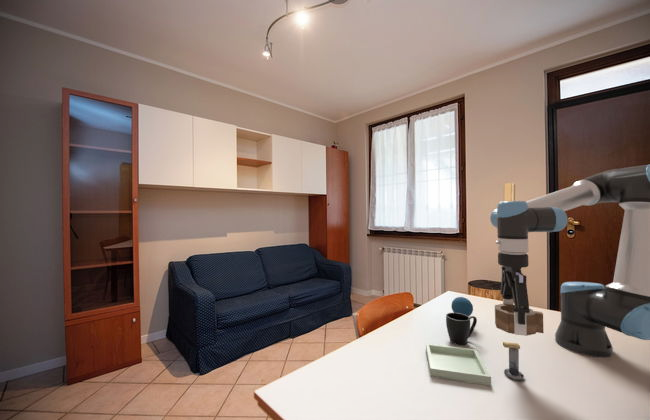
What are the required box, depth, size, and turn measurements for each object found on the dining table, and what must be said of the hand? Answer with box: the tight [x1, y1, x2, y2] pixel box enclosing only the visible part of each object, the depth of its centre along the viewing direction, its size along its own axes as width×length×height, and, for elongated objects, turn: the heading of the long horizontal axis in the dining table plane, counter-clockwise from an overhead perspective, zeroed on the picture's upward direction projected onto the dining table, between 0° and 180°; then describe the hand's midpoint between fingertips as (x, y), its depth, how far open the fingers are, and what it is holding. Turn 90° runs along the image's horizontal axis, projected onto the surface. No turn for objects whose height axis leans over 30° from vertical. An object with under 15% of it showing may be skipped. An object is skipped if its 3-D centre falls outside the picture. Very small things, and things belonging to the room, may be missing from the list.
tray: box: [425, 343, 492, 387], centre depth 86 cm, size 16×16×2 cm
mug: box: [445, 312, 478, 346], centre depth 103 cm, size 8×12×10 cm
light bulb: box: [451, 296, 474, 316], centre depth 118 cm, size 8×8×12 cm
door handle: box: [502, 341, 525, 382], centre depth 81 cm, size 5×5×10 cm
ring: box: [494, 303, 544, 336], centre depth 81 cm, size 12×10×6 cm
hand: (514, 326), depth 81 cm, fingers closed on ring, 10 cm apart
